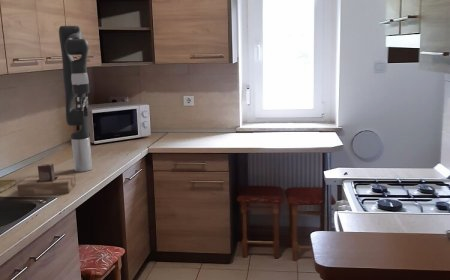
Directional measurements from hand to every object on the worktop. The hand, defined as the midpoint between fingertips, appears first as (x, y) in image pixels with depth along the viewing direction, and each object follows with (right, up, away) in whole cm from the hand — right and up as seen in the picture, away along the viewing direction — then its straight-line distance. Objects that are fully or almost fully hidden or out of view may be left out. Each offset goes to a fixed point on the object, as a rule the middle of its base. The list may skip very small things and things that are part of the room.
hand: (83, 117), depth 226 cm
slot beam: (-15, -34, -5) cm, 37 cm away
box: (-15, -34, -5) cm, 37 cm away
